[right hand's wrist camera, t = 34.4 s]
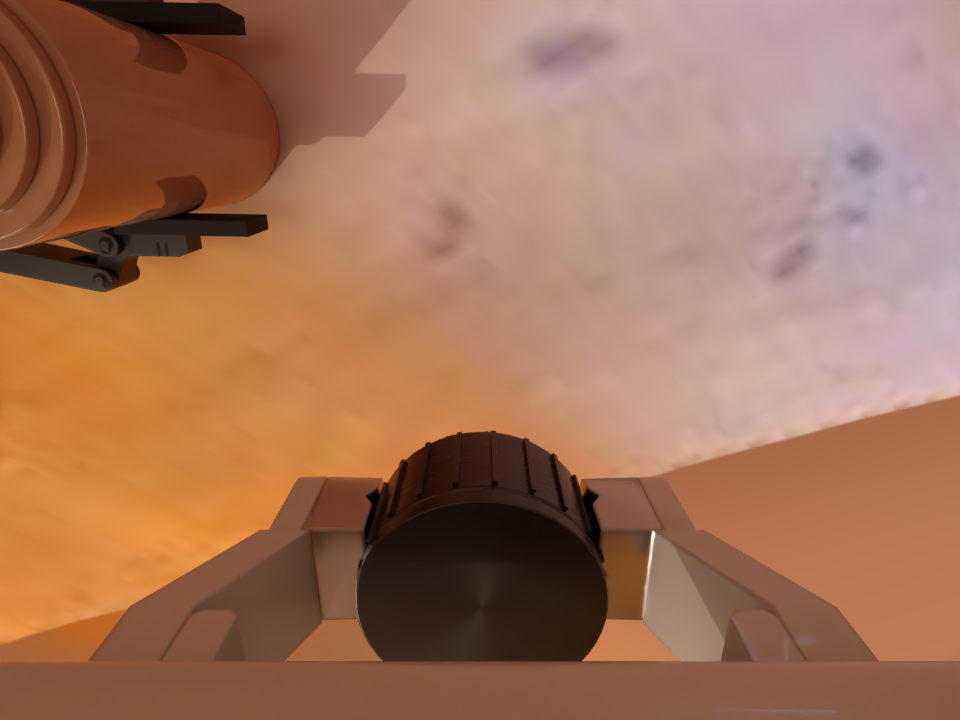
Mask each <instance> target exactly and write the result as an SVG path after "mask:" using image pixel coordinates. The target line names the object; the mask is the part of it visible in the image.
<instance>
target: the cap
mask: <svg viewBox="0 0 960 720" xmlns="http://www.w3.org/2000/svg"><path fill="white" fill-rule="evenodd" d="M366 542H367V543H368V545H367V549H366V552H365V555H364V558H363V562H362V563H359V564H358V567H357V571H359V575H358V579H357V583H356V591H355V607H356V612H357V617H358V622H359V624H360V627H361V630H362V632H363V634H364V636H365V638H366V640H367V642H368V643H369V645H370V646H371V648H372V649H373V650H374V652H375V653H376V654H377V656H378V657H379V658H380V659H381V660H383V661H582V660H583V659H584V658H585V657H586V656H587V655H588V654H589V652H590V651H591V649H592V648H593V647H594V645H595V644H596V642H597V640H598V638H599V636H600V634H601V633H602V630H603V627H604V624H605V621H606V617H607V611H608V588H607V582H606V578H605V574H604V571H603V567H602V564H601V563H605V559H604V556H603V553H598V550H597V546H596V543H595V539H594V536H593V532H592V529H591V513H589V512H587V511H586V507H585V504H584V500H583V497H582V494H581V490H580V486H579V483H578V479H577V477H576V475H573V476H572V475H571V474H570V472H569V471H568V470H567V468H566V467H565V466H564V465H563V464H562V463H561V462H560V461H559V460H558V459H557V455H556V454H554V453H553V454H552V455H551V454H550V453H549V452H547V451H546V450H544V449H542V448H541V447H539V446H537V445H535V444H533V443H532V442H530V441H529V439H527V438H524V439H521V438H518V437H515V436H511V435H507V434H501V433H496V431H491V432H488V431H486V432H470V433H462V432H458V433H457V435H451V436H447V437H445V438H443V439H439V440H437V441H435V442H433V443H430V442H428V443H426V444H425V447H423V448H422V449H420V450H418V451H416V452H415V453H413V454H412V455H411V456H410V457H409V458H408V459H406V460H404V459H402V460H401V461H400V464H399V467H398V469H397V470H396V471H395V472H394V474H393V475H392V477H391V478H390V479H389V481H388V483H386V482H384V484H383V486H382V489H381V492H380V496H379V499H378V502H377V506H376V509H375V512H374V516H373V519H372V522H371V526H370V529H369V532H368V536H367V539H366Z"/></svg>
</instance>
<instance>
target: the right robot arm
mask: <svg viewBox="0 0 960 720" xmlns="http://www.w3.org/2000/svg"><path fill="white" fill-rule="evenodd" d="M383 484H384V483H383V480H382V478H353V477H329V478H328V477H301V478H299V479H298V480H297V481H296V482H295V484H294V486H293V488H292V490H291V491H290V493H289V495H288V497H287V498H286V500H285V502H284V504H283V506H282V507H281V509H280V511H279V513H278V514H277V516H276V518H275V520H274V522H273V523H272V525H271V527H270V529H269V530H260V531H258V532H256V533H255V534H253V535H251V536H249V537H248V538H246V539H244V540H243V541H241V542H239V543H238V544H236V545H234V546H232V547H231V548H229V549H227V550H226V551H224V552H222V553H220V554H219V555H217V556H215V557H214V558H212V559H210V560H209V561H207V562H205V563H203V564H202V565H200V566H198V567H197V568H195V569H193V570H192V571H190V572H188V573H186V574H185V575H183V576H181V577H180V578H178V579H176V580H174V581H173V582H171V583H169V584H168V585H166V586H164V587H163V588H161V589H159V590H157V591H156V592H154V593H152V594H151V595H149V596H147V597H146V598H144V599H142V600H140V601H139V602H137V603H135V604H134V605H132V606H130V607H129V608H128V610H127V611H126V612H125V614H124V615H123V616H122V617H121V619H120V620H119V621H118V623H117V624H116V625H115V627H114V628H113V629H112V631H111V632H110V633H109V634H108V636H107V637H106V638H105V639H104V641H103V642H102V643H101V645H100V646H99V647H98V649H97V650H96V651H95V652H94V654H93V655H92V656H91V658H90V659H89V660H88V661H0V720H960V661H878V659H877V658H876V657H875V655H874V654H873V653H872V652H871V650H870V649H869V648H868V647H867V645H866V644H865V643H864V641H863V640H862V639H861V638H860V636H859V635H858V634H857V632H856V631H855V630H854V629H853V627H852V626H851V625H850V623H849V622H848V621H847V620H846V618H845V617H844V616H843V614H842V613H841V612H840V611H839V609H838V608H837V607H835V606H834V605H832V604H830V603H828V602H827V601H825V600H823V599H822V598H820V597H818V596H816V595H815V594H813V593H811V592H810V591H808V590H806V589H804V588H803V587H801V586H799V585H798V584H796V583H794V582H792V581H791V580H789V579H787V578H786V577H784V576H782V575H781V574H779V573H777V572H775V571H774V570H772V569H770V568H769V567H767V566H765V565H763V564H762V563H760V562H758V561H757V560H755V559H753V558H751V557H750V556H748V555H746V554H744V553H743V552H741V551H739V550H738V549H736V548H734V547H733V546H731V545H729V544H727V543H726V542H724V541H722V540H721V539H719V538H717V537H715V536H714V535H712V534H710V533H709V532H707V531H705V530H696V529H695V527H694V526H693V524H692V522H691V521H690V519H689V517H688V515H687V514H686V512H685V510H684V509H683V507H682V505H681V503H680V502H679V500H678V498H677V496H676V495H675V493H674V491H673V490H672V488H671V486H670V484H669V483H668V481H667V479H666V478H664V477H662V476H660V477H635V478H599V479H581V483H580V490H581V494H582V497H583V500H584V504H585V507H586V511H587V512H589V513H591V529H592V532H593V536H594V539H595V543H596V546H597V550H598V553H603V556H604V559H605V563H601V564H602V567H603V571H604V574H605V578H606V582H607V588H608V611H607V617H606V619H622V620H643V623H644V624H645V625H646V626H647V627H648V628H649V629H650V630H651V631H652V632H653V633H654V634H655V635H656V636H657V637H658V638H659V639H660V640H661V641H662V642H663V643H664V645H665V646H666V647H668V649H669V650H670V651H671V652H672V653H673V654H674V655H675V656H676V657H677V658H678V659H679V660H680V661H285V660H286V659H287V658H288V657H289V656H290V655H291V654H292V653H293V652H294V651H295V650H296V648H297V647H299V645H300V644H301V643H302V642H303V641H304V640H305V639H306V638H307V637H308V636H309V635H310V634H311V633H312V632H313V631H314V630H315V629H316V628H317V627H318V626H319V625H320V624H321V623H322V622H321V620H341V619H358V617H357V612H356V607H355V591H356V583H357V579H358V575H359V571H357V567H358V564H359V563H362V562H363V558H364V555H365V552H366V549H367V545H368V543H367V542H366V539H367V536H368V532H369V529H370V526H371V522H372V519H373V516H374V512H375V509H376V506H377V502H378V499H379V496H380V492H381V489H382V486H383Z"/></svg>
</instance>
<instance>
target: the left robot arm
mask: <svg viewBox="0 0 960 720" xmlns="http://www.w3.org/2000/svg"><path fill="white" fill-rule="evenodd" d="M66 1H69V2H72V3H75V4H78V5H80V6H83V7H86V8H89V9H92V10H94V11H97V12H100V13H103V14H106V15H108V16H111V17H114V18H117V19H119V20H122V21H125V22H128V23H131V24H133V25H136V26H139V27H142V28H145V29H147V30H150V31H153V32H156V33H158V34H195V35H246V32H245V23H244V17H243V16H241V15H239V14H237V13H235V12H233V11H232V10H230V9H228V8H226V7H224V6H222V5H221V4H219V3H164V2H163V0H66ZM267 229H268V222H267V215H257V214H200V213H185V214H180V215H175V216H170V217H165V218H160V219H156V220H151V221H146V222H141V223H136V224H131V225H127V226H122V227H117V228H112V229H107V230H103V231H98V232H93V233H88V234H83V235H78V236H74V237H69V238H64V239H66V240H68V241H70V242H73V243H75V244H77V245H80V246H82V247H84V248H86V249H89V250H91V251H93V252H96V253H98V254H96V253H92V252H87V251H82V250H77V249H72V248H67V247H62V246H57V245H52V244H47V243H40V244H35V245H30V246H25V247H20V248H15V249H10V250H5V251H0V272H4V273H9V274H14V275H19V276H24V277H29V278H34V279H39V280H44V281H49V282H54V283H59V284H64V285H69V286H74V287H79V288H84V289H89V290H94V291H99V292H107V291H109V290H112V289H115V288H118V287H120V286H123V285H126V284H128V283H130V282H133V281H135V280H137V279H138V278H139V275H140V271H139V268H138V266H137V260H138V257H139V256H177V257H180V256H183V255H186V254H188V253H191V252H194V251H196V250H199V249H201V248H202V245H201V238H200V236H243V237H249V236H251V235H254V234H257V233H259V232H262V231H265V230H267Z"/></svg>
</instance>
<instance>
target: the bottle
mask: <svg viewBox="0 0 960 720" xmlns="http://www.w3.org/2000/svg"><path fill="white" fill-rule="evenodd" d="M278 148H279V133H278V126H277V121H276V118H275V114H274V111H273V109H272V106H271V104H270V102H269V100H268V98H267V96H266V94H265V93H264V91H263V90H262V88H261V87H260V86H259V84H258V83H257V82H256V81H255V80H254V79H253V77H252V76H251V75H250V74H248V73H247V72H246V71H245V70H244V69H243V68H241V67H240V66H239V65H237V64H236V63H234V62H232V61H230V60H229V59H227V58H225V57H222V56H220V55H217V54H214V53H211V52H209V51H206V50H203V49H200V48H198V47H195V46H192V45H189V44H186V43H184V42H181V41H178V40H175V39H172V38H170V37H167V36H164V35H161V34H158V33H156V32H153V31H150V30H147V29H145V28H142V27H139V26H136V25H133V24H131V23H128V22H125V21H122V20H119V19H117V18H114V17H111V16H108V15H106V14H103V13H100V12H97V11H94V10H92V9H89V8H86V7H83V6H80V5H78V4H75V3H72V2H69V1H66V0H0V251H5V250H10V249H15V248H20V247H25V246H30V245H35V244H40V243H45V242H49V241H54V240H59V239H64V238H69V237H74V236H78V235H83V234H88V233H93V232H98V231H103V230H107V229H112V228H117V227H122V226H127V225H131V224H136V223H141V222H146V221H151V220H156V219H160V218H165V217H170V216H175V215H180V214H185V213H189V212H194V211H199V210H204V209H209V208H214V207H218V206H223V205H228V204H233V203H237V202H239V201H242V200H244V199H246V198H248V197H250V196H252V195H253V194H254V193H256V192H257V191H258V190H259V189H260V188H261V187H262V186H263V185H264V184H265V182H266V181H267V180H268V178H269V177H270V175H271V173H272V171H273V169H274V166H275V163H276V160H277V155H278Z"/></svg>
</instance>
